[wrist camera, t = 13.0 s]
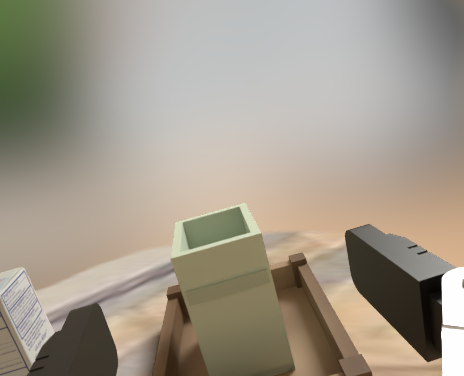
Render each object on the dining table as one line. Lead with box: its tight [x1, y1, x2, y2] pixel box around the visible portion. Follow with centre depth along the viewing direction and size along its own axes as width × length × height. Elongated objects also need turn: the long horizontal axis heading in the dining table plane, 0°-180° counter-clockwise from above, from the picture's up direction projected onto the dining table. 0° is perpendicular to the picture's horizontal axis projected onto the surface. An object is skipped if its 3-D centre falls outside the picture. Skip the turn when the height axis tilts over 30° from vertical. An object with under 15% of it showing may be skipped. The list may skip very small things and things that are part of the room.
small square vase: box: [171, 203, 295, 376], centre depth 24 cm, size 5×6×9 cm
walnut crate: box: [152, 253, 372, 376], centre depth 24 cm, size 12×14×3 cm
